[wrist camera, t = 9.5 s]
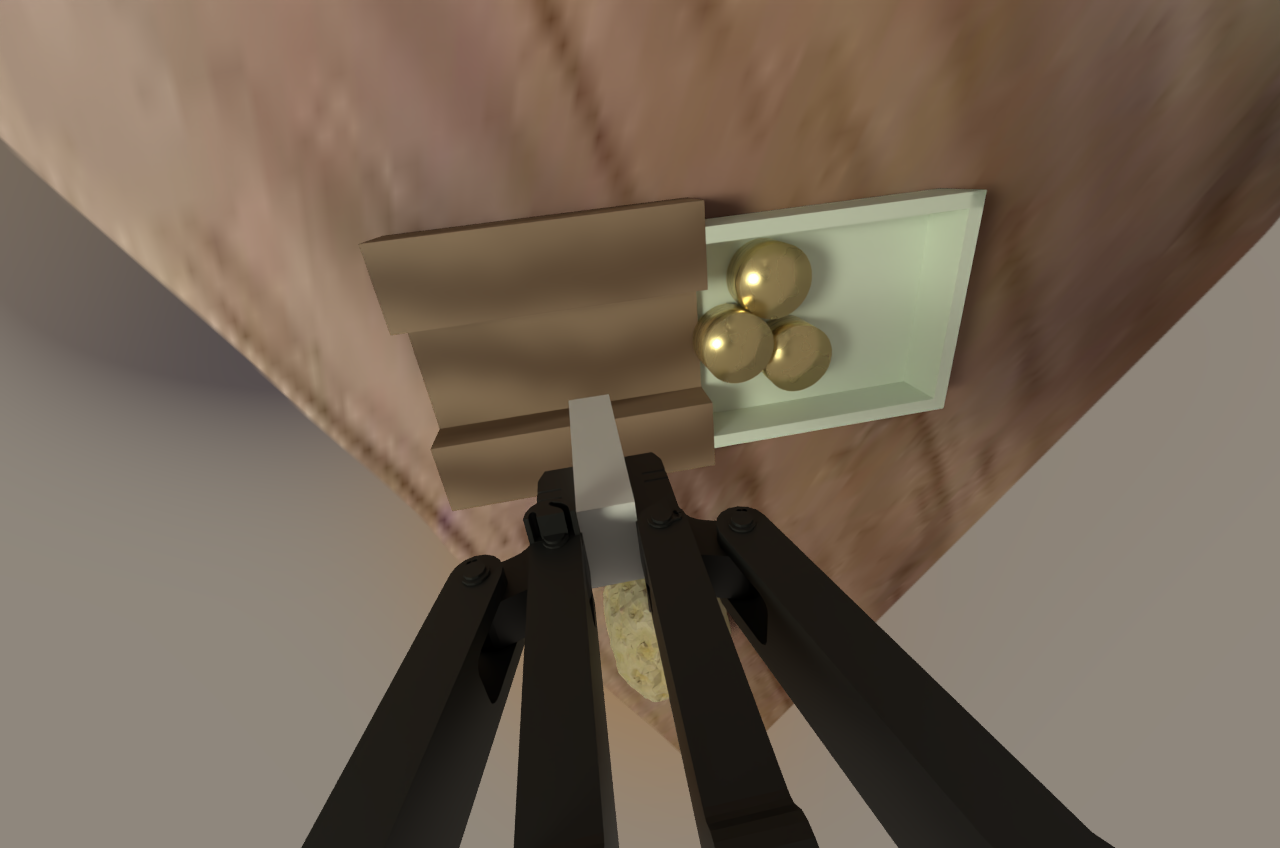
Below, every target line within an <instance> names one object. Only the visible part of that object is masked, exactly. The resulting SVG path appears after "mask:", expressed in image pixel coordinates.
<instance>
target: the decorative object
mask: <svg viewBox="0 0 1280 848" xmlns="http://www.w3.org/2000/svg"><path fill="white" fill-rule="evenodd" d="M603 598H604V601H603V604H604V616H605V621H606V625H607V632H608V635H609V637H610V646H611V648H612V650H613V652H614V657H615V659H616V661H617V663H616V666H617V669H618V672H619V674H620V675H621V676H622V677H623V678H624V679H625V680H626V681H627V683H628V684H629V685H630V686H631V687H632V688H634V689H636V690H637V691H638V692H639V693H640V694H641V695H643V697H644V698H647V699H649V700H651V701H653V702H660V701H663V700H667V699H669V694H668V690H667V685H666V680H665V676H664V671H663V666H662V662H661V657H660V652H659V648H658V643H657V638H656V634H655V629H654V624H653V620H652V615H651V612H649V605H648V598H647V591H646V583H645V578H644V579H639V580H633V581H628V582H623V583H618V584H613V585H608V586H606V587H605V589H604V592H603ZM717 600H718V603H719V605H720V608H721V611H722V613H723V616H724V619H725V622H726V624H727V627H728V630H729V632H730V634H731V629H730V623H729V619H728V615H727V611H726V608H725V607H724V606H723V604H722V603H721V600H720V598H717Z"/></svg>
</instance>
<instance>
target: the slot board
mask: <svg viewBox="0 0 1280 848" xmlns="http://www.w3.org/2000/svg"><path fill="white" fill-rule="evenodd" d="M359 247H360V250H361V253H362V256H363V258H364V261H365V264H366V267H367V270H368V273H369V276H370V278H371V281H372V284H373V287H374V290H375V293H376V295H377V298H378V301H379V304H380V307H381V310H382V313H383V315H384V318H385V321H386V324H387V327H388V330H389V332H390V335H397V334H404V333H408V335H409V338H410V341H411V344H412V347H413V350H414V353H415V356H416V359H417V362H418V365H419V368H420V371H421V374H422V377H423V380H424V383H425V386H426V389H427V392H428V395H429V398H430V401H431V404H432V407H433V410H434V413H435V416H436V419H437V422H438V425H439V428H440V430H439V432H438V434H437V436H436V439H435V441H434V443H433V445H432V447H431V452H432V455H433V458H434V461H435V463H436V466H437V469H438V472H439V475H440V478H441V480H442V483H443V486H444V489H445V492H446V495H447V498H448V500H449V503H450V506H451V509H452V511H456V510H462V509H468V508H473V507H479V506H485V505H490V504H496V503H502V502H507V501H513V500H519V499H524V498H530V497H535V496H537V494H538V493H537V488H538V481H539V479H540V478H541V476H542V475H543V473H544V472H545V471H550V470H556V469H562V468H568V467H573V459H572V444H571V429H570V415H569V400H575V399H581V398H588V397H594V396H600V395H607V394H609V397H610V401H611V406H612V410H613V414H614V418H615V422H616V426H617V431H618V435H619V439H620V443H621V447H622V451H623V456H624V457H626V456H631V455H637V454H643V453H649V452H653V453H654V454H655V455H657V456H658V457H659V458H660V459H661V460H662V462H663V465H664V468H665V471H666V473H671V472H677V471H682V470H688V469H694V468H699V467H705V466H711V465H715V449H714V424H713V403H712V401H711V400H710V398H709V397H708V396H707V394H706V393H705V391H704V390H703V388H702V387H701V373H700V360H699V358H698V357H697V355H696V354H695V351H694V348H693V332H694V329H695V326H696V324H697V322H698V316H697V297H696V291H702V290H708V280H707V256H706V232H705V207H704V200H699V199H693V198H679V199H671V200H664V201H656V202H648V203H640V204H632V205H624V206H616V207H608V208H600V209H592V210H584V211H576V212H569V213H561V214H553V215H545V216H537V217H529V218H521V219H513V220H505V221H497V222H489V223H481V224H473V225H466V226H458V227H450V228H442V229H434V230H426V231H418V232H410V233H402V234H394V235H386V236H381V237H378V238H375V239H372V240H369V241H366V242H363V243H361V244H359Z"/></svg>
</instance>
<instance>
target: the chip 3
mask: <svg viewBox="0 0 1280 848" xmlns="http://www.w3.org/2000/svg"><path fill="white" fill-rule="evenodd" d="M766 323H767V325H768V326H769V328H770V329H771V332H772V334H773V339H774V348H773V353H772V356H771V358H770V361H769V362H768V364H767V366H766V367H765V368H764V369H763V370H762V373H763V374H764V375H765V376H766V377H767V378H768V379H769V380H770V381H771V382H772V383H773V384H774V385H776V386H777V387H778V388H780V389H782V390H786V391H800V390H803V389H806V388H808V387H810V386H812V385H813V384H815V383H816V382H817V381H818V380H820V379H821V377H822V376H823V375H824V374H825V372H826V371H827V369H828V367H829V364H830V362H831V357H832V346H831V343H830V340H829V338H828V337H827V335H826V334H825V333H824V332H823V331H821V330H820V329H818V328H816V327H815V326H813V325H811V324H809V323H808V322H806V321H804V320H802V319H801V318H799V317H796V316H793V315H787V316H784V317H782V318H778V319H771V320H769V321H768V322H766Z"/></svg>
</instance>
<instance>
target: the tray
mask: <svg viewBox="0 0 1280 848" xmlns="http://www.w3.org/2000/svg"><path fill="white" fill-rule="evenodd" d="M986 192H987V190H979V189H944V188H939V189H932V190H924V191H916V192H909V193H901V194H893V195H886V196H878V197H870V198H863V199H855V200H847V201H840V202H832V203H824V204H817V205H809V206H801V207H794V208H786V209H779V210H771V211H763V212H756V213H748V214H740V215H733V216H725V217H717V218H710V219H705V232H706V256H707V280H708V290H702V291H696V297H697V316H698V321H699V319H700V318H701V317H702V316H703V315H704V314H705V313H706V312H707V311H708V310H710V309H711V308H713V307H715V306H718V305H721V304H736V305H739V306H741V305H740V304H738V303H737V302H736V301H735V300H734V299H733V298H732V296H731V295H730V293H729V291H728V288H727V282H726V274H727V268H728V265H729V263H730V260H731V258H732V257H733V255H734V254H735V253H736V251H737V250H738V249H739V248H740V247H741V246H743V245H744V244H745V243H747V242H749V241H751V240H754V239H757V238H770V239H774V240H777V241H781V242H784V243H788V244H791V245H794V246H796V247H798V248H799V249H801V250H802V251H803V252H804V253H805V255H806V256H807V258H808V259H809V262H810V264H811V269H812V282H811V286H810V290H809V292H808V294H807V296H806V298H805V300H804V301H803V302H802V304H801V305H800V306H799V307H798V308H797V309H796V310H795V311H793V312H792V313H790V314H789V315H793V316H796V317H799V318H801V319H802V320H804V321H806V322H808V323H809V324H811V325H813V326H815V327H816V328H818V329H820V330H821V331H823V332H824V333H825V334H826V335H827V337H828V338H829V340H830V343H831V346H832V357H831V362H830V364H829V367H828V369H827V371H826V372H825V374H824V375H823V376H822V377H821V379H820V380H818V381H817V382H816V383H815V384H813V385H812V386H810V387H808V388H806V389H803V390H800V391H786V390H782V389H780V388H778V387H777V386H776V385H774V384H773V383H772V382H771V381H770V380H769V379H768V378H767V377H766V376H765V375H764V374H763V373H762V372H761V373H759V374H758V375H757V376H755V377H754V378H752V379H750V380H748V381H746V382H742V383H727V382H723V381H721V380H719V379H717V378H716V377H715V376H714V375H713V374H712V373H711V372H710V371H709V370H708V369H707V367H706V366H705V365H704V364H703V363H702V362H701V361H700V373H701V387H702V388H703V390H704V391H705V393H706V394H707V396H708V397H709V398H710V400H711V401H712V403H713V424H714V448H718V447H723V446H729V445H735V444H741V443H746V442H752V441H758V440H764V439H769V438H775V437H781V436H787V435H792V434H798V433H804V432H810V431H815V430H821V429H827V428H833V427H838V426H844V425H850V424H856V423H861V422H867V421H873V420H879V419H884V418H890V417H896V416H902V415H907V414H913V413H919V412H925V411H930V410H936V409H942V408H944V403H945V398H946V393H947V388H948V383H949V378H950V373H951V368H952V363H953V358H954V353H955V348H956V343H957V338H958V333H959V328H960V323H961V318H962V313H963V308H964V303H965V297H966V292H967V287H968V282H969V277H970V272H971V267H972V262H973V257H974V252H975V247H976V242H977V237H978V232H979V227H980V222H981V217H982V212H983V207H984V202H985V197H986ZM741 307H743V306H741ZM743 308H744V307H743ZM746 310H747V309H746ZM759 318H760V317H759ZM761 319H762V320H764V321H765V322H768V321H769V320H771V319H764V318H761Z"/></svg>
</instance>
